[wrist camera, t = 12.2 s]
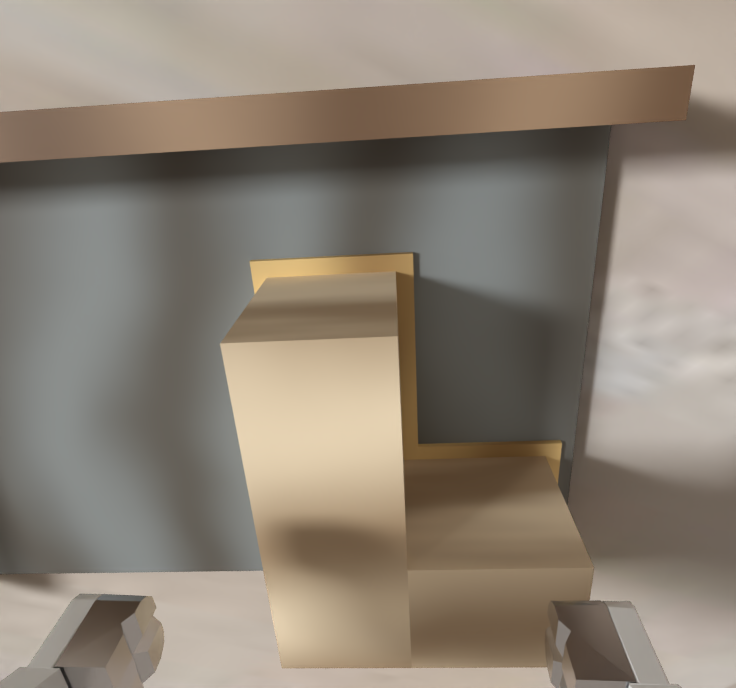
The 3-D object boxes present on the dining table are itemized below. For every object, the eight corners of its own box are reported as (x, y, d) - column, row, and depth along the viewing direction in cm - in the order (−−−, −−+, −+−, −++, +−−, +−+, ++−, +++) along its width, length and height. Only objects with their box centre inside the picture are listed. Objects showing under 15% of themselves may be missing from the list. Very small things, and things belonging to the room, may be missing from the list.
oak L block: (266, 277, 17) (219, 343, 12) (562, 263, 16) (629, 326, 12) (305, 546, 21) (281, 668, 17) (537, 542, 21) (579, 667, 16)
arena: (608, 75, 15) (695, 65, 11) (556, 554, 22) (595, 662, 18) (-300, 136, 16) (-538, 148, 12) (-73, 564, 23) (-174, 664, 19)
